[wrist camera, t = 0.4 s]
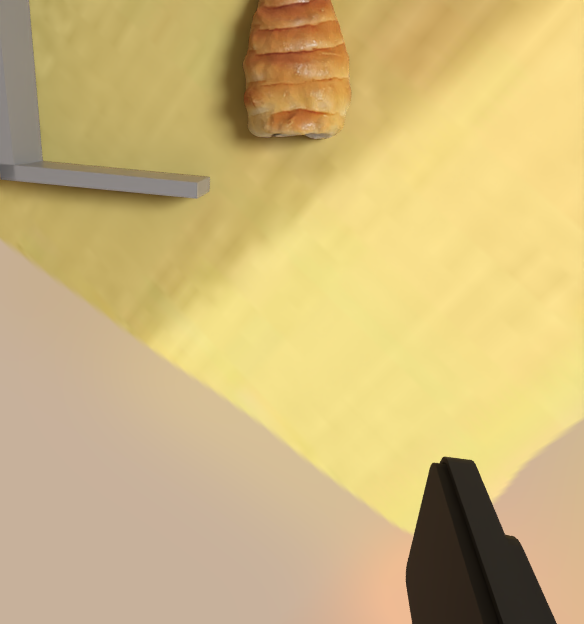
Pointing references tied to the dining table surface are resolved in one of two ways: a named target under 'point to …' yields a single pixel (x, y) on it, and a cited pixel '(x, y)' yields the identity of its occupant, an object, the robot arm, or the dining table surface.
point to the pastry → (296, 70)
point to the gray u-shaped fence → (26, 129)
